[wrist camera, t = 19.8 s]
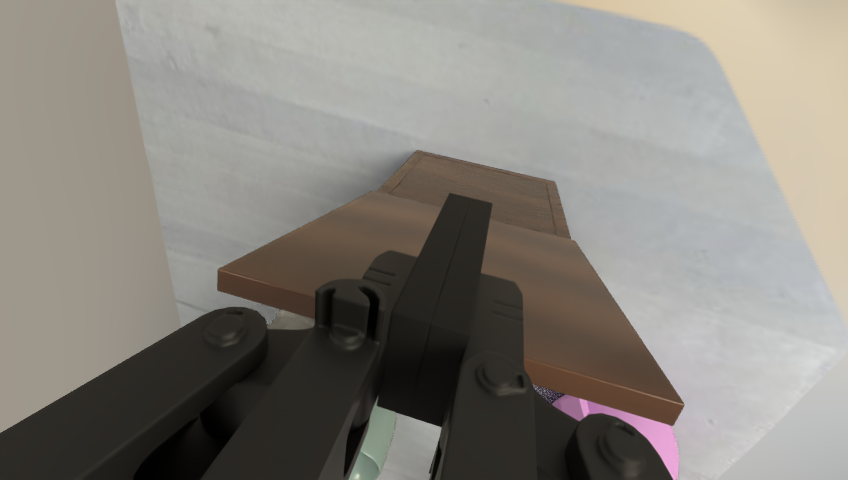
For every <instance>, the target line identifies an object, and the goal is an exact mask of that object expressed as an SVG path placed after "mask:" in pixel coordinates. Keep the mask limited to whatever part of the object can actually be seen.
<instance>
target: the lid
mask: <svg viewBox="0 0 848 480" xmlns="http://www.w3.org/2000/svg"><path fill="white" fill-rule="evenodd" d="M441 209H442V208H440V207H436V206H432V205H428V204H424V203H420V202H416V201H412V200H408V199H404V198H400V197H396V196H392V195H388V194H384V193H380V192H376V191H371V192H369V193H367V194H365V195H363V196H361V197H359V198H357V199H355V200H353V201H351V202H349V203H347V204H345V205H343V206H341V207H339V208H338V209H336V210H334V211H332V212H330V213H328V214H326V215H324V216H322V217H320V218H318V219H316V220H314V221H312V222H310V223H308V224H306V225H304V226H302V227H300V228H298V229H296V230H294V231H292V232H290V233H288V234H286V235H284V236H282V237H280V238H278V239H276V240H274V241H272V242H270V243H268V244H266V245H264V246H262V247H260V248H259V249H257V250H255V251H253V252H251V253H249V254H247V255H245V256H243V257H241V258H239V259H237V260H235V261H233V262H231V263H229V264H227V265H225V266H223V267H221V268H219V269H218V283H217V290H218V291H221V292H224V293H227V294H231V295H234V296H237V297H241V298H244V299H247V300H251V301H254V302H257V303H261V304H264V305H268V306H271V307H274V308H278V309H281V310H284V311H288V312H291V313H294V314H298V315H301V316H304V317H308V318H311V319H315V290H317V289H318V288H319V287H321V286H322V285H323V284H325V283H327V282H330V281H333V280H336V279H346V278H352V279H359V280H360V279H362V277H363V275H364V274H365V272H366V271H367V269H369V266H370V265H371V263H372V262H373V261H374V259H375V258H376V257H377V256H378V255H380V254H382V253H384V252H386V251H388V250H393V251H397V252H401V253H405V254H408V255H412V256H416V257H418V256H419V254H420V252H421V250H422V248H423V246H424V244H425V242H426V240H427V238H428V236H429V233H430V231H431V229H432V227H433V225H434V223H435V221H436V219H437V217H438V215H439V213H440V211H441ZM481 273H485V274H489V275H493V276H496V277H500V278H504V279H508V280H512V281H515V282H516V284H517V286H518V287H519V289H520V291H521V292H522V294H523V329H524V368H525V371H526V372H527V374H528V375H529V377H530V378H531V382H532V384H533V385H536V386H539V387H543V388H546V389H549V390H553V391H556V392H560V393H563V394H566V395H570V396H573V397H576V398H580V399H583V400H586V401H590V402H593V403H596V404H600V405H603V406H607V407H610V408H613V409H617V410H620V411H623V412H627V413H630V414H633V415H637V416H640V417H643V418H647V419H650V420H654V421H657V422H660V423H664V424H667V425H670V426H673V425H674V424H675V422H676V420H677V418H678V416H679V415H680V413H681V411H682V409H683V407H684V402H683V401H682V399H681V398H680V396H679V395H678V393H677V392H676V391H675V389H674V388H673V386H672V385H671V383H670V382H669V380H668V379H667V377H666V376H665V374H664V373H663V371H662V370H661V368H660V367H659V365H658V364H657V362H656V361H655V359H654V358H653V356H652V355H651V353H650V352H649V350H648V349H647V347H646V346H645V344H644V343H643V341H642V340H641V338H640V337H639V335H638V334H637V332H636V331H635V329H634V328H633V326H632V325H631V323H630V322H629V321H628V319H627V318H626V316H625V315H624V313H623V312H622V310H621V309H620V307H619V306H618V304H617V303H616V301H615V300H614V298H613V297H612V295H611V294H610V292H609V291H608V289H607V288H606V286H605V285H604V283H603V282H602V280H601V279H600V277H599V276H598V274H597V273H596V271H595V270H594V268H593V267H592V265H591V264H590V262H589V261H588V259H587V258H586V256H585V255H584V253H583V252H582V250H581V249H580V248H579V246H578V245H577V243H576V242H575V241H574V240H570V239H566V238H562V237H557V236H553V235H549V234H545V233H541V232H537V231H533V230H529V229H525V228H521V227H517V226H513V225H509V224H505V223H501V222H497V221H493V220H490V222H489V228H488V234H487V240H486V245H485V251H484V257H483V263H482V269H481Z"/></svg>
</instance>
